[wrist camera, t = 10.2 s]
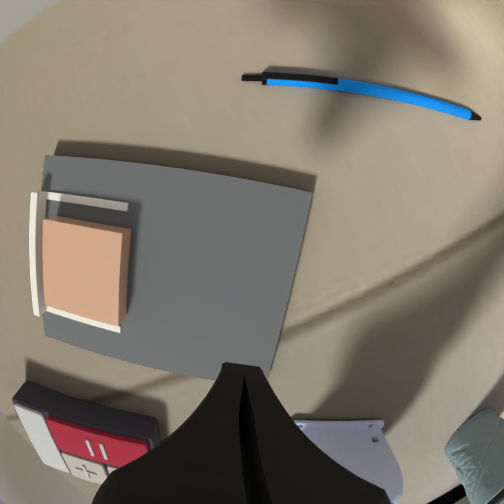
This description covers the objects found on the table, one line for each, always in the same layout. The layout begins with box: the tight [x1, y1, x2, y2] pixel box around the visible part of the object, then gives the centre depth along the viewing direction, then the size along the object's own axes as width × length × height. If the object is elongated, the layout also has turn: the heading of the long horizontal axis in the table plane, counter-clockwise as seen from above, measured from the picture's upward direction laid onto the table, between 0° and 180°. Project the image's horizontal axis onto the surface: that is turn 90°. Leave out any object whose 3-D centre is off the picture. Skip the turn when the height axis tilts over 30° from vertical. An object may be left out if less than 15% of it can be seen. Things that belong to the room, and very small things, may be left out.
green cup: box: [445, 409, 504, 504], centre depth 20 cm, size 10×10×12 cm
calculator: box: [12, 381, 160, 484], centre depth 22 cm, size 11×4×15 cm
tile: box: [42, 216, 131, 326], centre depth 17 cm, size 2×6×6 cm
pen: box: [242, 72, 482, 120], centre depth 17 cm, size 1×19×1 cm, turn 89°
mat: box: [29, 155, 312, 380], centre depth 18 cm, size 18×14×2 cm
